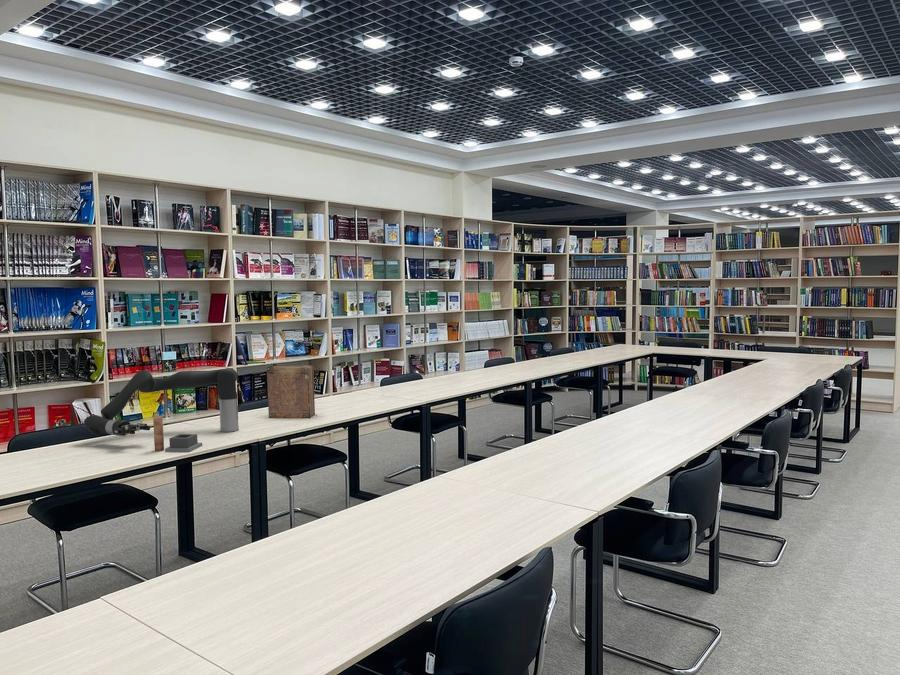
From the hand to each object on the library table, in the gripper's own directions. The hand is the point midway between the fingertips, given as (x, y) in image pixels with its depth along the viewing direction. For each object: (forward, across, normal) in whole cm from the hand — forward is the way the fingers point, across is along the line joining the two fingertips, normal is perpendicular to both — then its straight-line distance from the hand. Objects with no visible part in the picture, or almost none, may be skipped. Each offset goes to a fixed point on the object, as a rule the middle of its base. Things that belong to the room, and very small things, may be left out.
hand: (142, 430), depth 304 cm
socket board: (+19, -7, -9) cm, 22 cm away
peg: (+11, 0, -9) cm, 14 cm away
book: (+18, -89, -9) cm, 91 cm away
